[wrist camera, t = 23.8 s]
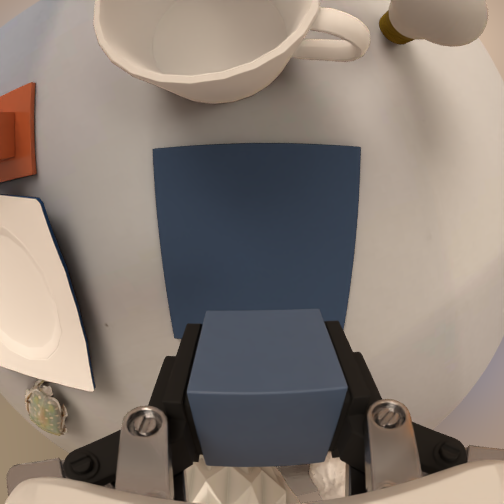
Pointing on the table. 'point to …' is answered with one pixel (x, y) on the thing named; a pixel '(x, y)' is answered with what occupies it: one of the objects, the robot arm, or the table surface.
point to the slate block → (265, 388)
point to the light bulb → (435, 21)
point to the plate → (38, 300)
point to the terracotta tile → (20, 133)
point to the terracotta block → (7, 135)
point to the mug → (221, 42)
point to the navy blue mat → (256, 227)
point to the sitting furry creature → (329, 477)
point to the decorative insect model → (45, 409)
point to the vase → (237, 485)
